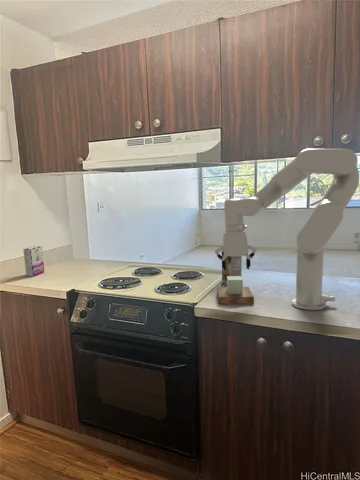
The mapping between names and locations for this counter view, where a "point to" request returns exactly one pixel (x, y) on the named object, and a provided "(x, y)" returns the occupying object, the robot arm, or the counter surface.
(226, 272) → the coffee box
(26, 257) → the candy bar box
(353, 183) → the robot arm
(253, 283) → the counter surface
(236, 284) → the sage block
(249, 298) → the walnut base
